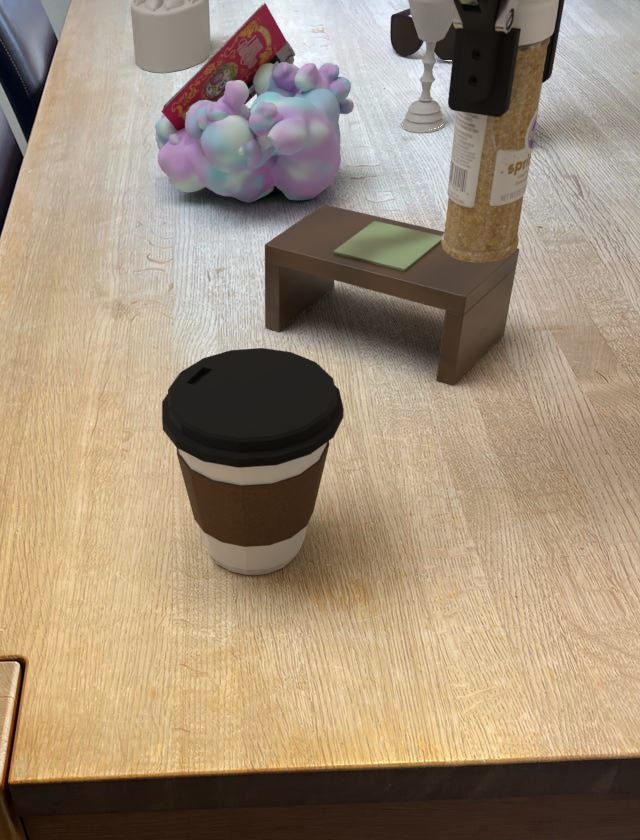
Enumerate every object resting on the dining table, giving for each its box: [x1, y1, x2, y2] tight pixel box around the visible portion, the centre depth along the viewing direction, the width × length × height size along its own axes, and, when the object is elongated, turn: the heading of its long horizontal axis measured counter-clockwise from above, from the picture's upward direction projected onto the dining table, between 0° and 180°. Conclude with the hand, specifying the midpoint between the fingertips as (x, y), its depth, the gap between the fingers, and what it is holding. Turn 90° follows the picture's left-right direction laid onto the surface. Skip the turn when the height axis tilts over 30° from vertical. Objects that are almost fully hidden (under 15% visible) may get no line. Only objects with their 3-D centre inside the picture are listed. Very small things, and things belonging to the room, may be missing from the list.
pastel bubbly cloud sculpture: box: [154, 2, 355, 204], centre depth 104 cm, size 20×22×18 cm
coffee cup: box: [161, 347, 345, 576], centre depth 63 cm, size 11×11×12 cm
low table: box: [264, 203, 520, 386], centre depth 83 cm, size 18×9×8 cm, turn 51°
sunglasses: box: [389, 7, 456, 61], centre depth 136 cm, size 14×16×5 cm
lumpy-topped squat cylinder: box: [130, 0, 212, 74], centre depth 140 cm, size 10×13×9 cm
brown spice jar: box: [441, 0, 559, 263], centre depth 56 cm, size 5×5×14 cm
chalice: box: [400, 0, 455, 134], centre depth 111 cm, size 7×7×18 cm
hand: (500, 91), depth 54 cm, fingers closed on brown spice jar, 4 cm apart
